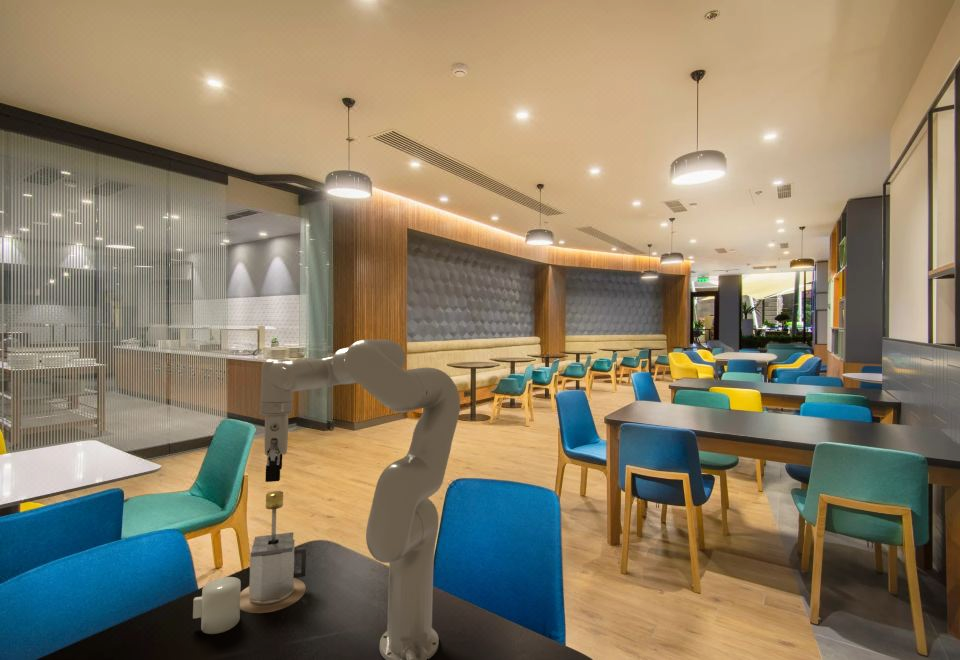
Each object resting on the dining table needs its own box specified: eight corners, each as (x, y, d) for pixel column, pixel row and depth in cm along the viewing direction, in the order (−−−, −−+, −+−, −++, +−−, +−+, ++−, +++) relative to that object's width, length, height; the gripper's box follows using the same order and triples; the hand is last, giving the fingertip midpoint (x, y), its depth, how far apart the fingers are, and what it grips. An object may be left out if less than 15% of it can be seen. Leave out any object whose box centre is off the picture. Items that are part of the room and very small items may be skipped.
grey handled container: (304, 599, 114) (306, 546, 114) (246, 609, 109) (247, 554, 110) (304, 578, 124) (306, 529, 124) (251, 586, 119) (252, 536, 119)
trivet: (305, 608, 111) (305, 605, 111) (231, 621, 106) (231, 618, 106) (305, 575, 126) (305, 572, 126) (240, 585, 121) (240, 582, 121)
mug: (237, 632, 102) (238, 591, 102) (189, 641, 99) (190, 599, 99) (241, 612, 109) (242, 574, 109) (196, 620, 106) (198, 581, 106)
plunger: (288, 568, 114) (290, 497, 114) (254, 573, 111) (256, 500, 111) (289, 554, 121) (291, 487, 121) (257, 558, 118) (259, 490, 119)
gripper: (291, 413, 110) (288, 485, 110) (293, 402, 126) (291, 464, 126) (256, 414, 107) (253, 487, 107) (263, 402, 123) (260, 466, 123)
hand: (273, 475), depth 117 cm, fingers open, 9 cm apart
